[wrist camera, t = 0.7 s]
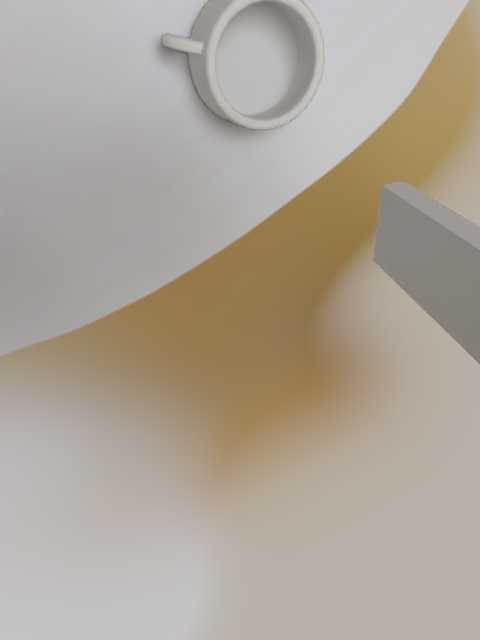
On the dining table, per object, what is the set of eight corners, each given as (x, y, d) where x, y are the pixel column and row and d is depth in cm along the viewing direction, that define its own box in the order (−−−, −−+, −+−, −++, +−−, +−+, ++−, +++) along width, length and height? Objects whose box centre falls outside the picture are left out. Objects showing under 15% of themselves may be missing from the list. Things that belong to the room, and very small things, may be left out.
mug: (318, 0, 34) (351, -2, 29) (286, 130, 39) (310, 147, 34) (163, -45, 30) (173, -55, 26) (150, 105, 36) (156, 120, 31)
